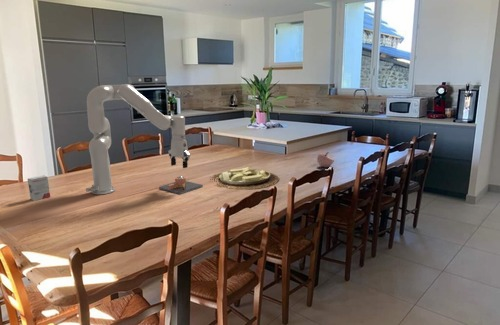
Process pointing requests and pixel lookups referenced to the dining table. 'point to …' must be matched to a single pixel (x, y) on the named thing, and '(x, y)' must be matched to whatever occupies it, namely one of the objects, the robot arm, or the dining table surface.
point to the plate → (246, 179)
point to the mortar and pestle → (324, 160)
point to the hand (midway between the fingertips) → (179, 166)
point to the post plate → (184, 189)
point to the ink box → (38, 187)
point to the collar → (177, 183)
